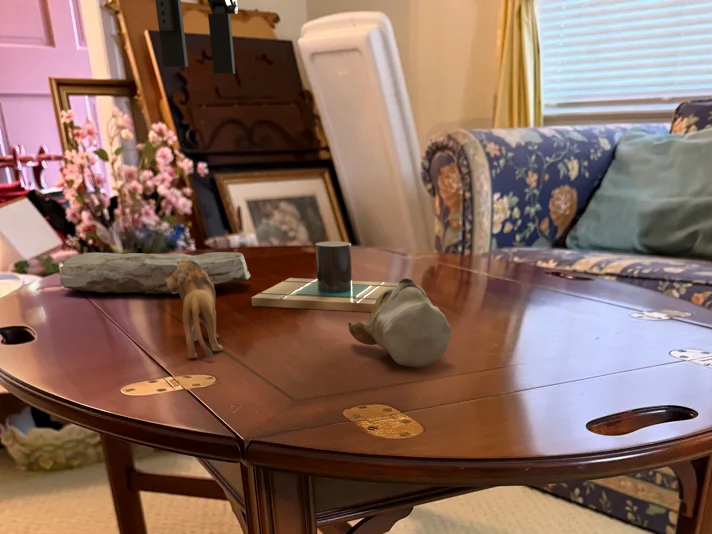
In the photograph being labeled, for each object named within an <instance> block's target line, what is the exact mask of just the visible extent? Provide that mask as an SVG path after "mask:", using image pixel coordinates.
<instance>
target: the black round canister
mask: <svg viewBox="0 0 712 534" xmlns="http://www.w3.org/2000/svg"><path fill="white" fill-rule="evenodd" d="M352 260H353V258H352V243H351V242H348V241H336V240H335V241H334V240H333V241H320V242H319V241H318V242H316V243H315V264H316V279H317V289H318V290H319V291H321V292H328V293H340V292H347V291H351V290H352V281H353V263H352Z"/></svg>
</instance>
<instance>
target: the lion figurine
mask: <svg viewBox="0 0 712 534" xmlns="http://www.w3.org/2000/svg"><path fill="white" fill-rule="evenodd" d="M177 264H178V265H177V269H176V270H175V271H174V272H173V274H172V275H171V276H170V277H168V278H167V279H166V280H165V282H166V283H167V286H168V287H169V288H170V289H171V290H172V293H173V294H172V295H177V294H179V296H180V299H181V302H182V305H183V308H182V323H183V329H184V334H185V344H186V347H187V353H186V358H187V359H195V358H197V357H198V353H197V352H196V348H195V342H197V341H198V343H199V345H200V347H201V348H202V350H203V351H204V353H205V356H206V357H208V358H210V359H211V358H214V354H213V351H214V352H220V351H221V352H222V351H223V350H224V347H223V345H221V344H219V343H218V340H217V339H219V338H220V335H219V334H217V311H216V298H217V293H216V289H215V284H214V285H213V283H212V282H211V281H210V279H209V277H208V275H207V273H206V272H205V271H204V270H203V267H202V266H200V265H199V264H198V263H196V262H194V261H193V260H190V259H184V260H179V261H178V262H177ZM200 323H203V325H204V326H205V329H206V331H207V336H208V341H209V344H210V346H211V349H212V350H211V349H210V348H209V347H208V346H207V345H206V343H205V341H204V338H203V335H202V331H201V326H200Z"/></svg>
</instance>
